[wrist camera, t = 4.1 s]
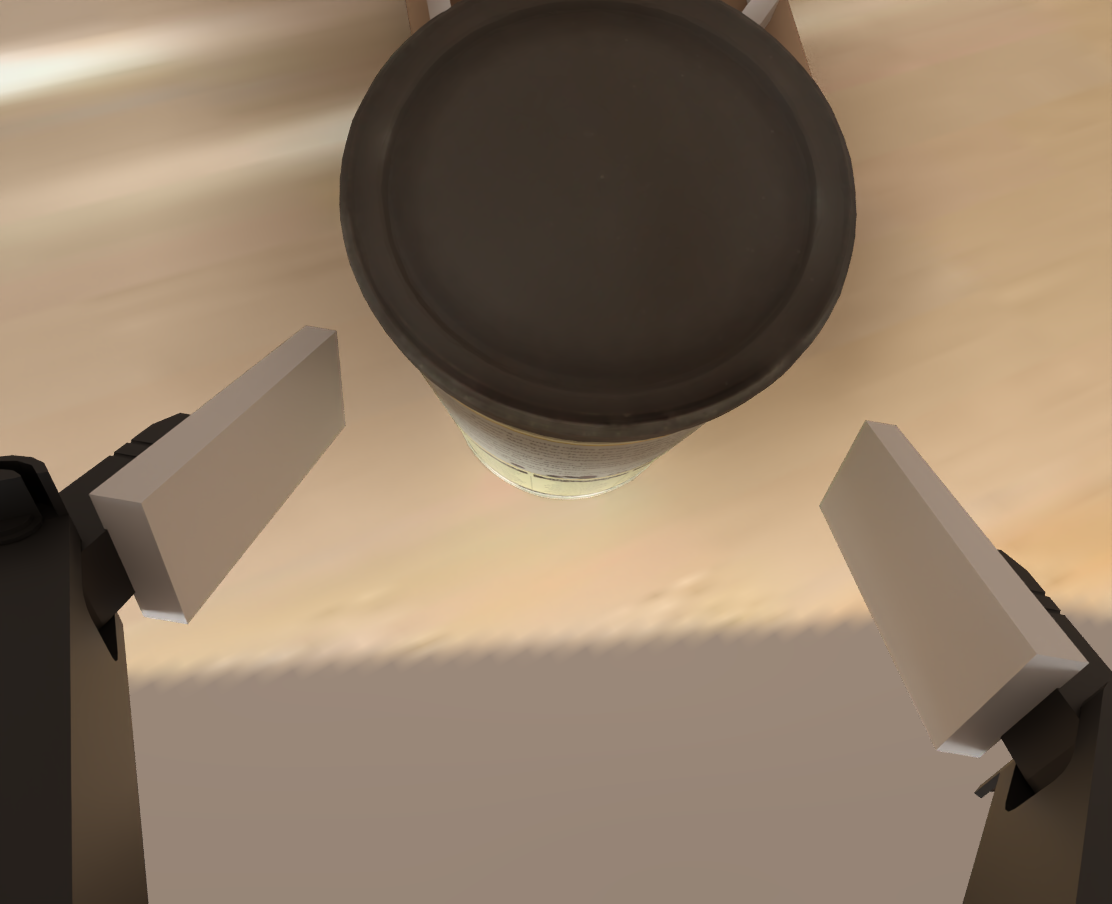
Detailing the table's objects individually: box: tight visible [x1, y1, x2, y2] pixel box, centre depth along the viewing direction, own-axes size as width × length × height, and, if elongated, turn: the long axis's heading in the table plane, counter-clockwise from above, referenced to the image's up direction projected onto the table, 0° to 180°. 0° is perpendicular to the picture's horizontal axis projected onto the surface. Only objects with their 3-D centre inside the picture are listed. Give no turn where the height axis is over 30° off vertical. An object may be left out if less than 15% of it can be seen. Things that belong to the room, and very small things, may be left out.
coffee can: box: [339, 0, 857, 500], centre depth 18 cm, size 10×10×14 cm
